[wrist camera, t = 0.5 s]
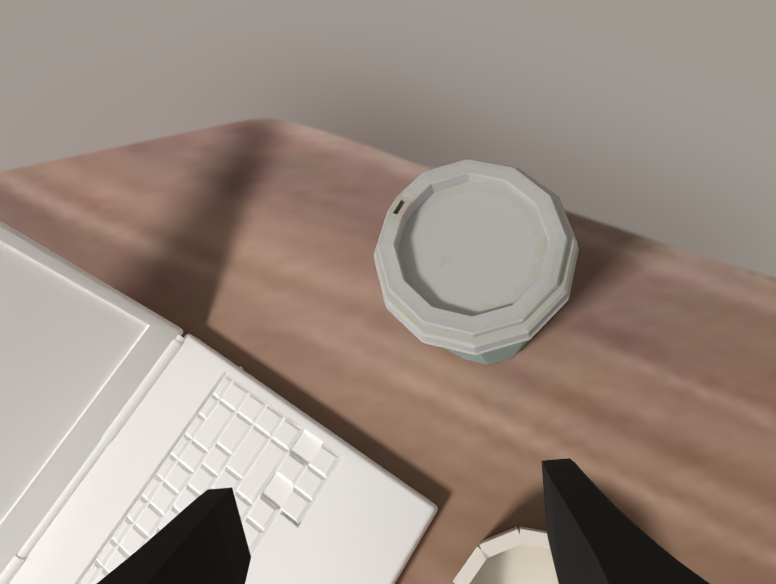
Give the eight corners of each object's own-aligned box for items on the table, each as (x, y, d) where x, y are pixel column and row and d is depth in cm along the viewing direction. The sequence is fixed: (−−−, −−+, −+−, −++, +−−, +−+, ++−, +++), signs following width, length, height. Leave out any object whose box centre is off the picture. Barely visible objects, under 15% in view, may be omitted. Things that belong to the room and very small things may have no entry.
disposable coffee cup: (585, 296, 40) (623, 190, 27) (516, 426, 38) (518, 384, 24) (457, 238, 44) (432, 119, 30) (388, 354, 42) (327, 282, 28)
